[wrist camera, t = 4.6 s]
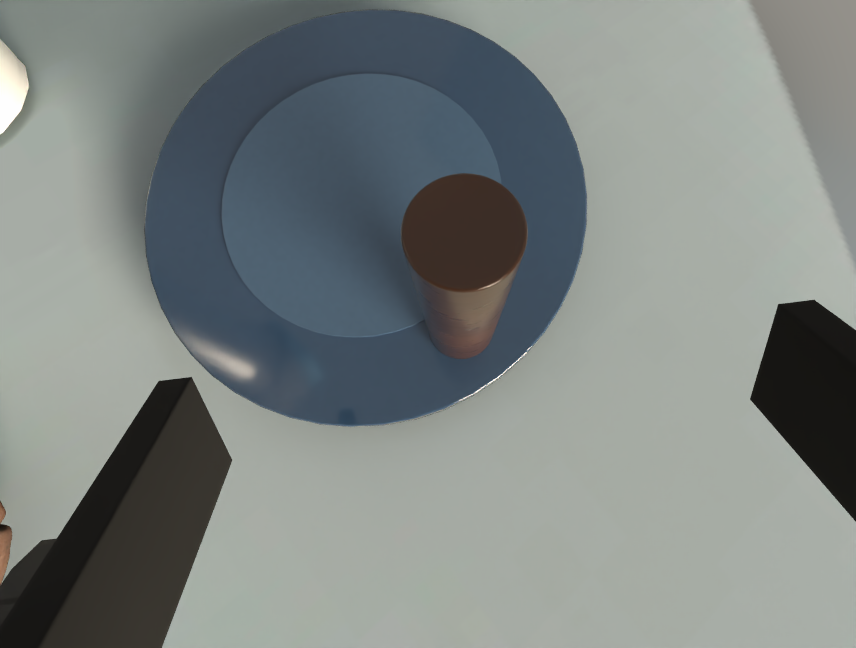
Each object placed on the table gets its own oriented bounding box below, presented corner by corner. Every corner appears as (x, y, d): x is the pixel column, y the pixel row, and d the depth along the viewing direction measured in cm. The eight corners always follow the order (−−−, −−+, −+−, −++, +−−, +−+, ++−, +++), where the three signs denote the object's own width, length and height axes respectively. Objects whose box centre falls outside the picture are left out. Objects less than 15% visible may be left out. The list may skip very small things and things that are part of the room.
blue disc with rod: (83, 177, 23) (-232, -34, 13) (409, -43, 25) (373, -399, 14) (307, 525, 20) (128, 641, 9) (675, 243, 21) (900, 53, 10)
